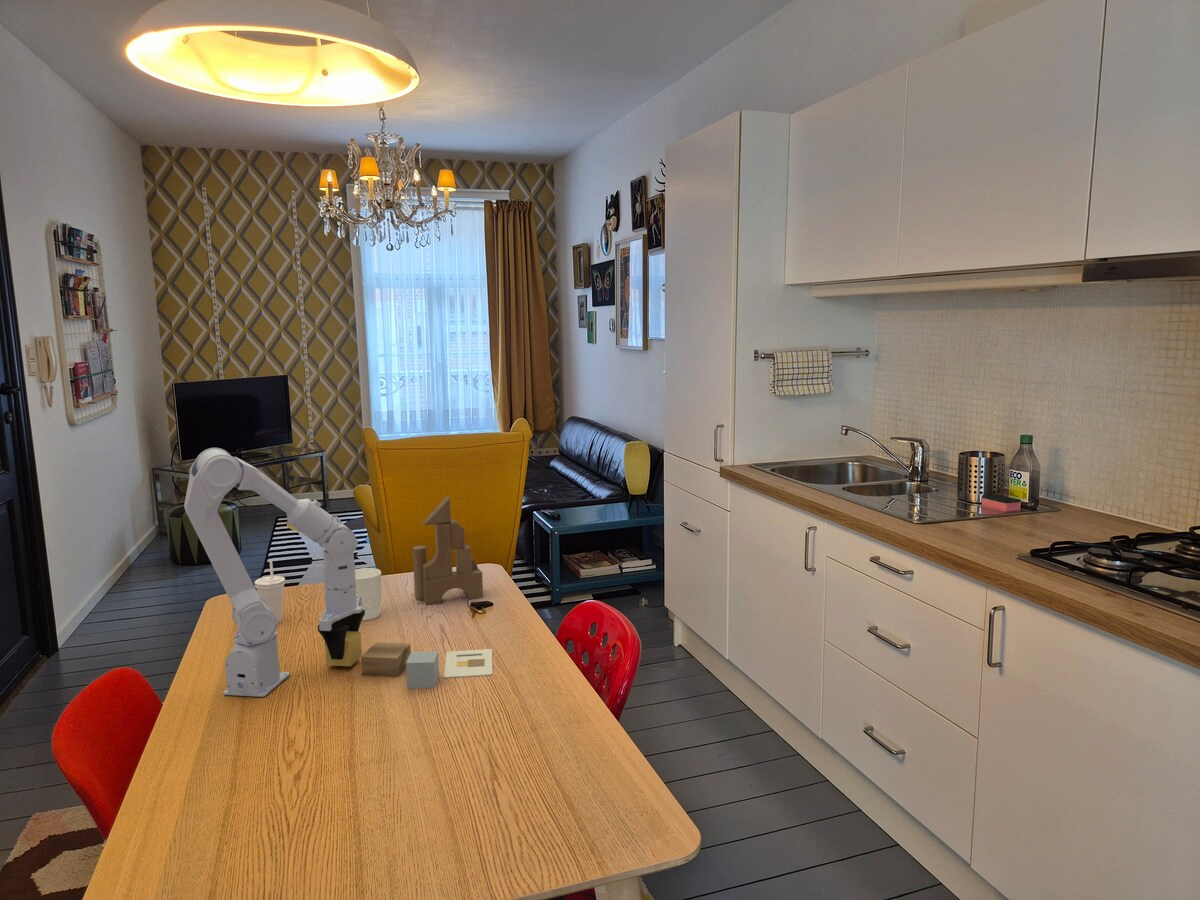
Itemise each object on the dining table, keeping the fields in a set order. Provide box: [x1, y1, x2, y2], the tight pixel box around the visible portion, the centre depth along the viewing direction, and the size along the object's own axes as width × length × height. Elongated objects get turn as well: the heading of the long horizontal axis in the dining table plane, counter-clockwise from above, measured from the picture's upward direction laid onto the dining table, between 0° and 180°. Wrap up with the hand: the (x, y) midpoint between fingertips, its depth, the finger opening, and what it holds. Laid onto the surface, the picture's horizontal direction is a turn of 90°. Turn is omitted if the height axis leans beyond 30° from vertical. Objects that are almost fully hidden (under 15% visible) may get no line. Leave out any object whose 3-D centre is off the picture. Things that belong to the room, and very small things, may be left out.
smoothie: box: [254, 560, 286, 624], centre depth 182 cm, size 6×6×14 cm
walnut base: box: [360, 641, 412, 678], centre depth 158 cm, size 7×7×4 cm
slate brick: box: [405, 650, 440, 690], centre depth 151 cm, size 5×5×5 cm
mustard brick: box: [324, 631, 362, 667], centre depth 159 cm, size 5×5×5 cm
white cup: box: [355, 567, 382, 622], centre depth 186 cm, size 8×8×10 cm
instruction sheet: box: [443, 648, 493, 679], centre depth 160 cm, size 12×9×1 cm
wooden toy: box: [412, 495, 484, 606], centre depth 196 cm, size 16×7×25 cm, turn 111°
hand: (343, 652), depth 160 cm, fingers closed on mustard brick, 5 cm apart
